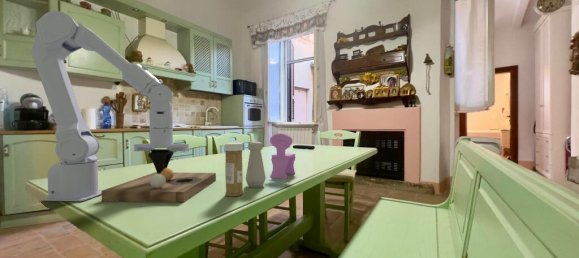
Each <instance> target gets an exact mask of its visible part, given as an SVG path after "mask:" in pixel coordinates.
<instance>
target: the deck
mask: <svg viewBox="0 0 579 258" xmlns="http://www.w3.org/2000/svg"><path fill="white" fill-rule="evenodd" d="M173 173H174V175H173V178H172V179H171V180H169V181H166V183H165V185H164V186H163V187H161V188H154V187H152V186H151V184H150V179H151V177H152V176H153V175H155V174H157V171H156V172H155V171H154V172H153V173H149V174H146V175H142V176H141V177H138V178H134V179H132V180H129V181H128V180H127V181H126V182H123V183H120V184H118V185H115V186H112V187H108V188H105V189H103V190H102V194H101V202H127V203H129V202H134V203H186V202H187V201H188V200H189V199H191V198H193V197H194V196H195V195H197V194H199V193H200V192H202V191H203V190H204V189H206V188H208V187H209V186H211V184H213V183H214V182H216V181H217V175H216V172H173Z"/></svg>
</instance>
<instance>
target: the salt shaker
mask: <svg viewBox="0 0 579 258" xmlns="http://www.w3.org/2000/svg"><path fill="white" fill-rule="evenodd" d="M247 147H248V148H247V149H248V150H249V155H248V162H247V168H246V174H245V175H246V176H245V182H246V184H247V186H248V188H249V187H250V188H262V187H263V186H264V184H265V183H266V182H265V181H266V179H267V177H266V173H265V168H264V162H263V156H262V150H263V147H264V145H263V142H260V141H250V142H249V143H248V145H247Z"/></svg>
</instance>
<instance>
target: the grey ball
mask: <svg viewBox="0 0 579 258" xmlns="http://www.w3.org/2000/svg"><path fill="white" fill-rule="evenodd" d="M165 183H166V178H165V177H164V175H162V174H155V175H153V176H152V177H151V179H150V184H151V186H152V187H154V188H161V187H163V186H164V185H165Z"/></svg>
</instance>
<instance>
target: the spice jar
mask: <svg viewBox="0 0 579 258" xmlns="http://www.w3.org/2000/svg"><path fill="white" fill-rule="evenodd" d="M243 150H244V145H243V143H242V142H237V141H236V142H233V141H232V142H225V143H224V152H225V153H224V154H225V163H224V167H225V168H224V169H225V170H224V171H225V193H224V194H225V196H228V197H239V196H242V195H243V194H244V191H243V190H244V189H243V181H244V180H243V178H244V177H243Z"/></svg>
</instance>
